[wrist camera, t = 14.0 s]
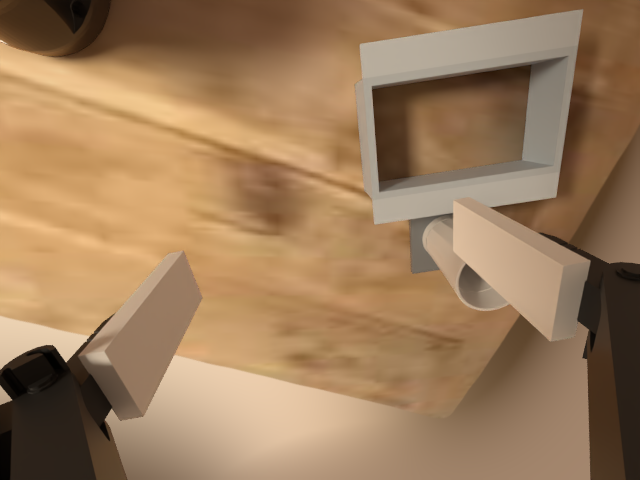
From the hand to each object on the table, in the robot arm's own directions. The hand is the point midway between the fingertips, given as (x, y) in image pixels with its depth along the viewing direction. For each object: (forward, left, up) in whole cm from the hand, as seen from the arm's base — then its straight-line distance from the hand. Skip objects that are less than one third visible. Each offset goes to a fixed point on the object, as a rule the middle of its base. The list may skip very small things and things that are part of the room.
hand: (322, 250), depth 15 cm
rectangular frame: (-3, +17, -26) cm, 31 cm away
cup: (+12, +17, -26) cm, 33 cm away
